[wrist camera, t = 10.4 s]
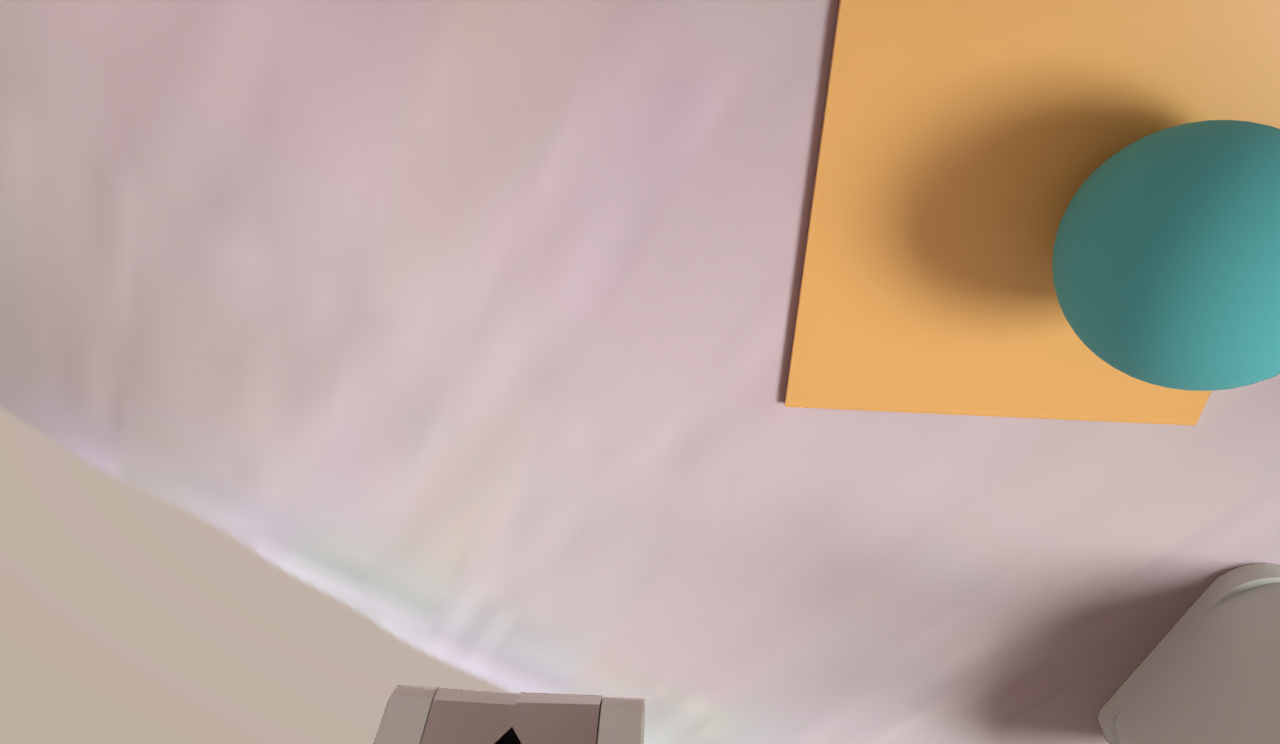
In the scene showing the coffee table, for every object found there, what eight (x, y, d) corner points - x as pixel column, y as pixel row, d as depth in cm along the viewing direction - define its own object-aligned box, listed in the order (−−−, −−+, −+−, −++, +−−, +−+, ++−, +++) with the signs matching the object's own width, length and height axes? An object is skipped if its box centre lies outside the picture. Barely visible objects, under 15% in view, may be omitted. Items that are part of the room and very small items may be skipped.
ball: (1408, 188, 15) (1030, 164, 18) (1320, 473, 18) (1010, 406, 21) (1413, 88, 18) (1101, 84, 22) (1340, 335, 21) (1076, 298, 25)
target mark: (1396, -16, 19) (1403, -14, 19) (1192, 421, 26) (1195, 425, 26) (843, -31, 20) (845, -30, 19) (784, 402, 26) (785, 406, 26)
